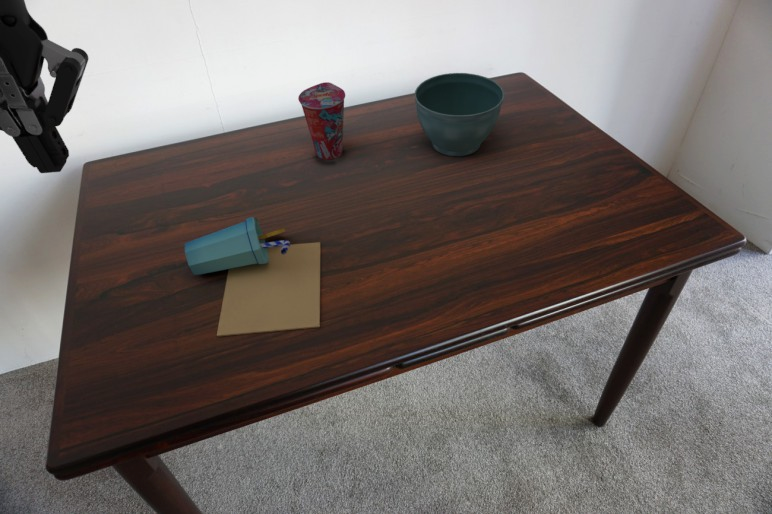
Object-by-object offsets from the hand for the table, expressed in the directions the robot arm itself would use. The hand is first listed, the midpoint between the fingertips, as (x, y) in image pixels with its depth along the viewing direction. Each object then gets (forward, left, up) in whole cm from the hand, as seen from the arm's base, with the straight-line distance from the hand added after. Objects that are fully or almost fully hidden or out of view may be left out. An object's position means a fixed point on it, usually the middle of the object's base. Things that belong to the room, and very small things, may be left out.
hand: (55, 167), depth 44 cm
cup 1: (0, +17, -29) cm, 34 cm away
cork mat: (+12, +14, -32) cm, 37 cm away
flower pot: (+45, +48, -32) cm, 73 cm away
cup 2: (+20, +49, -32) cm, 62 cm away
